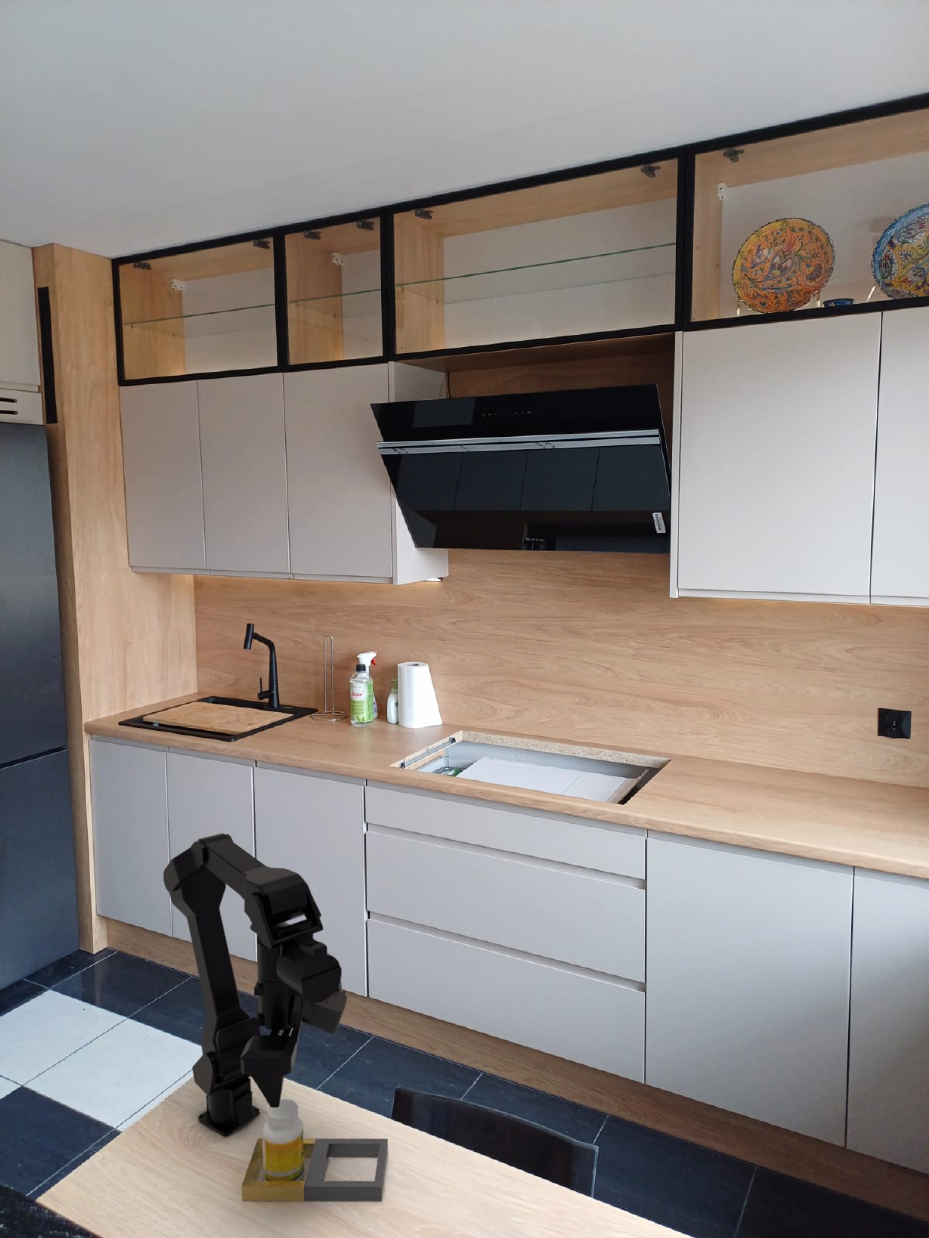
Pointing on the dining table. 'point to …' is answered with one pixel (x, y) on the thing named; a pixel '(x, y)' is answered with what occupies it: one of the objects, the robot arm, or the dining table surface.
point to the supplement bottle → (283, 1143)
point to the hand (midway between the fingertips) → (282, 1084)
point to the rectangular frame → (320, 1173)
